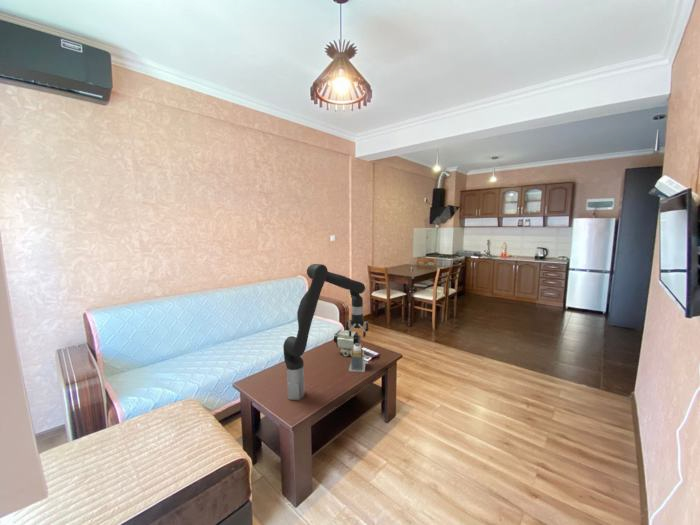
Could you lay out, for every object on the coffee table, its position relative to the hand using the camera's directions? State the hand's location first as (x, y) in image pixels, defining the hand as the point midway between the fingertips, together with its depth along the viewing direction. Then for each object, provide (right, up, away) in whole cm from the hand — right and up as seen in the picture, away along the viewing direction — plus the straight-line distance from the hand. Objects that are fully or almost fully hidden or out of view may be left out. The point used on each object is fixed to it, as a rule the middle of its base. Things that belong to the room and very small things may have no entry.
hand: (357, 336), depth 190 cm
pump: (0, -12, +2) cm, 12 cm away
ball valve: (-7, -18, +21) cm, 29 cm away
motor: (0, -21, +3) cm, 21 cm away
